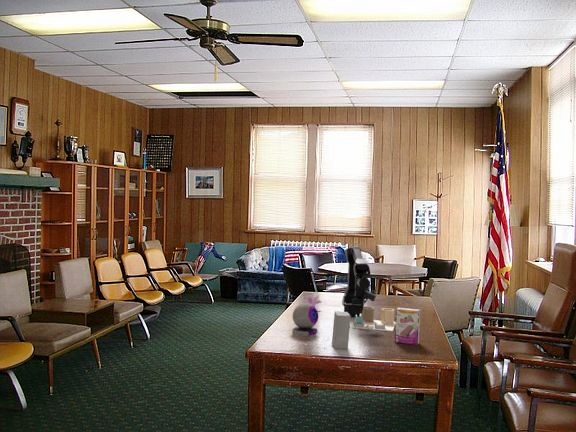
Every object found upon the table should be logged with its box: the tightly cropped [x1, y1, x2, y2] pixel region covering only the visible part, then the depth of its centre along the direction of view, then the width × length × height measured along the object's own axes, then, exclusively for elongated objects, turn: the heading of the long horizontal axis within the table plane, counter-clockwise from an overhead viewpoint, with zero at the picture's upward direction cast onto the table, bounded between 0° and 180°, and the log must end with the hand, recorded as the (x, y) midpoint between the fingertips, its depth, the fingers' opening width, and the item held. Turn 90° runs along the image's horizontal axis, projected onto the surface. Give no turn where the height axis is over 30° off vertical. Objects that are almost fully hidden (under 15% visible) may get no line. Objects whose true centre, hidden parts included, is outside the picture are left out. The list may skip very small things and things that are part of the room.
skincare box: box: [331, 311, 352, 350], centre depth 274 cm, size 8×7×16 cm
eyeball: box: [291, 303, 319, 337], centre depth 300 cm, size 13×13×15 cm
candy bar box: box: [394, 307, 421, 346], centre depth 285 cm, size 11×5×16 cm, turn 71°
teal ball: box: [355, 315, 363, 324], centre depth 315 cm, size 4×4×4 cm
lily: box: [301, 294, 322, 308], centre depth 357 cm, size 12×12×10 cm
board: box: [352, 306, 396, 332], centre depth 321 cm, size 21×22×8 cm
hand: (359, 315), depth 315 cm, fingers open, 9 cm apart
